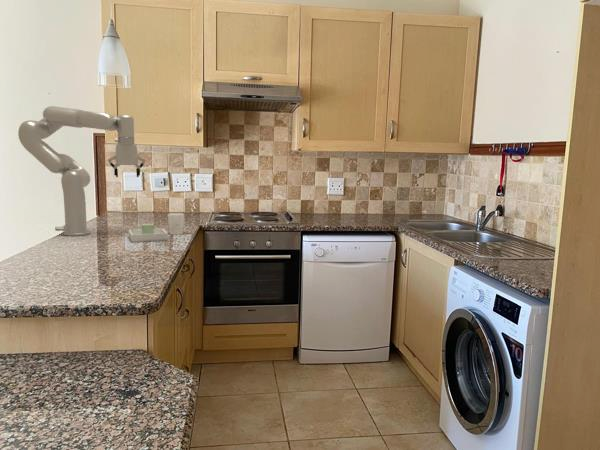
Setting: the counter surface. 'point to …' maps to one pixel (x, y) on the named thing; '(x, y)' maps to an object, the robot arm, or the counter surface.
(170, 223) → the white cup
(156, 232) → the white bin
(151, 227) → the green block
